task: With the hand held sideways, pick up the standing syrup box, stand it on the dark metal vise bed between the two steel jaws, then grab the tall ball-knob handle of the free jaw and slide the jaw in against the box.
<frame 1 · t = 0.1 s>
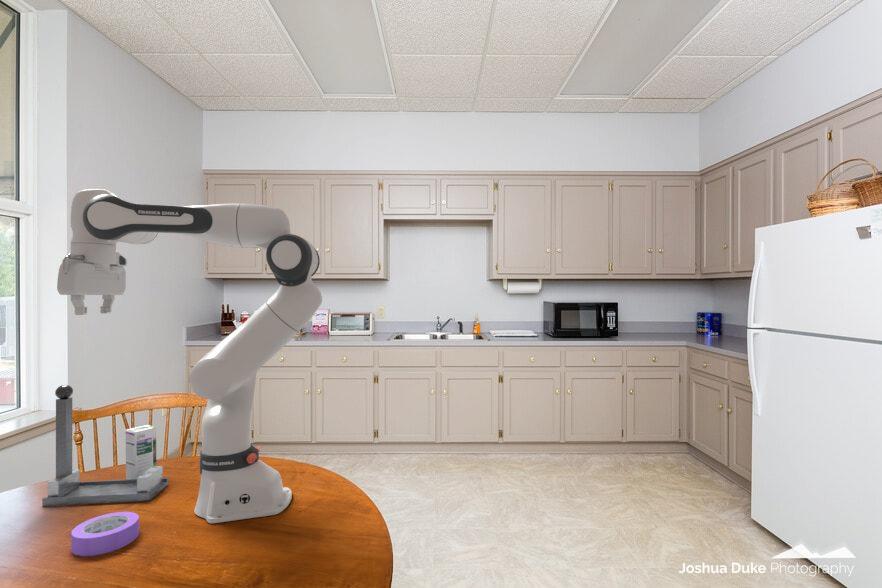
hand: (93, 314, 111), 48 cm above the table, tool pointing down, fingers open, 8 cm apart
masking tape: (106, 542, 98), on the table
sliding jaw: (64, 438, 119), point 15 cm above the table, slide at 0.0 cm
vise bed: (108, 495, 120), on the table
syrup box: (141, 478, 132), on the table
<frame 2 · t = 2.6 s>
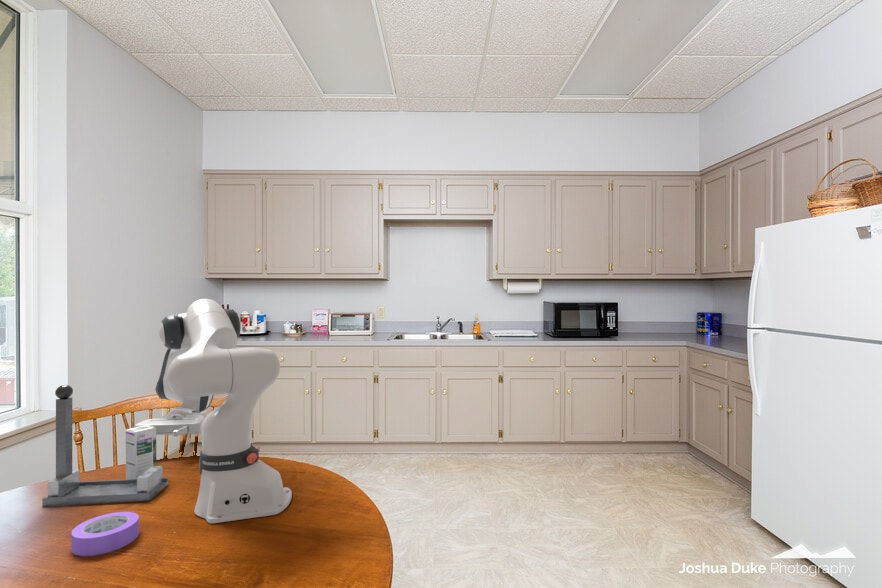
hand: (159, 434, 143), 9 cm above the table, tool horizontal, fingers open, 8 cm apart
nothing on the table moved.
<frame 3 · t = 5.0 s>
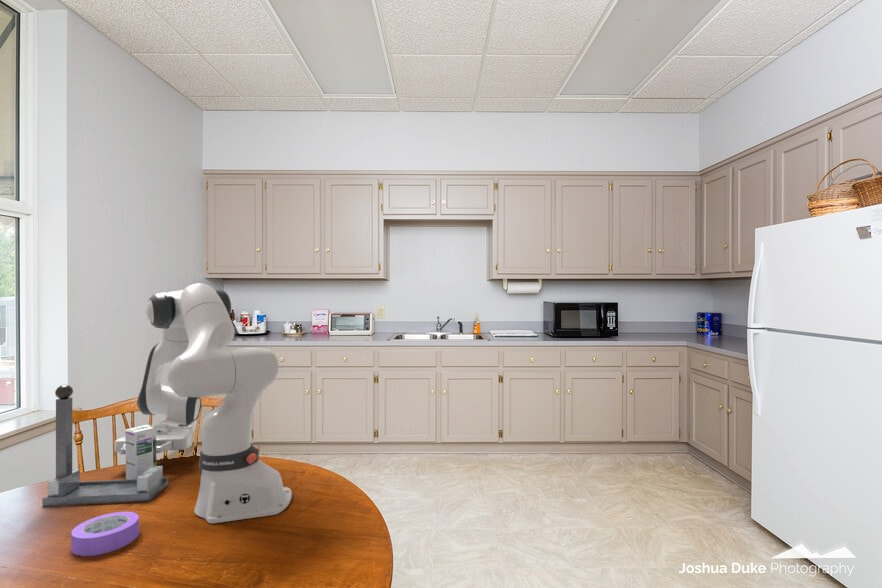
hand: (140, 450, 131), 8 cm above the table, tool horizontal, fingers open, 8 cm apart
syrup box: (141, 478, 132), on the table, touching gripper
everything else where it was.
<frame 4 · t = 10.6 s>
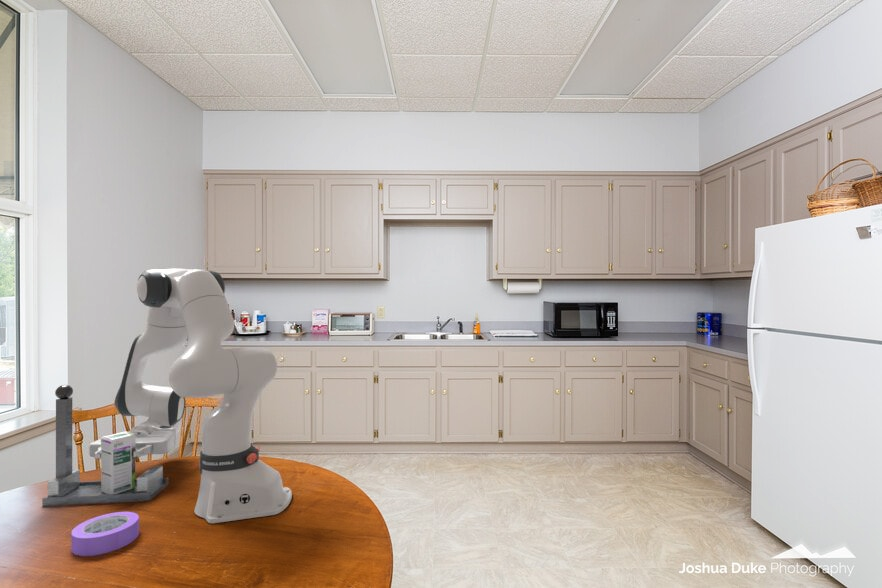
hand: (116, 455, 120), 11 cm above the table, tool horizontal, fingers open, 8 cm apart
syrup box: (118, 490, 121), point 1 cm above the table, touching gripper, vise bed
everything else where it was.
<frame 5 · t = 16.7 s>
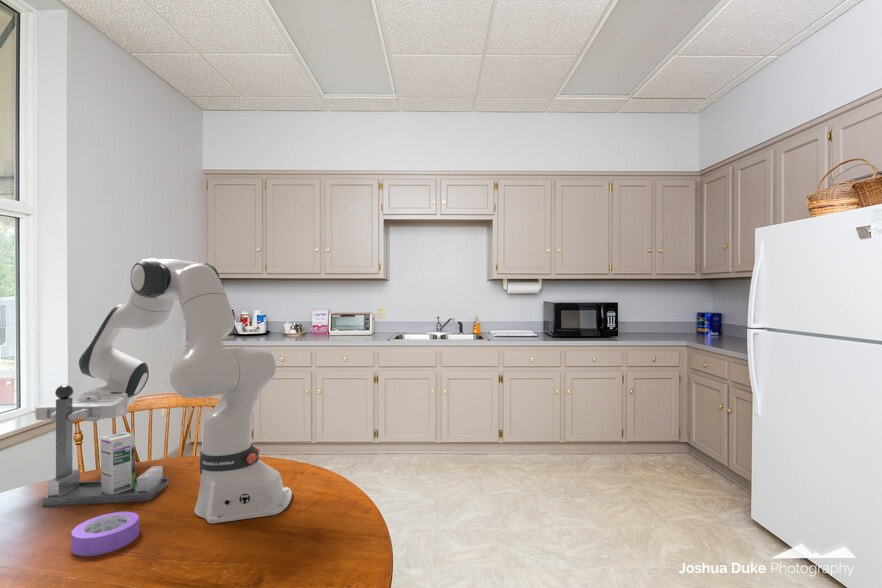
hand: (61, 417, 118), 21 cm above the table, tool horizontal, fingers closed on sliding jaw, 2 cm apart
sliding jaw: (64, 438, 119), point 15 cm above the table, slide at 0.0 cm, touching gripper
syrup box: (118, 490, 121), point 1 cm above the table, touching vise bed
everything else where it was.
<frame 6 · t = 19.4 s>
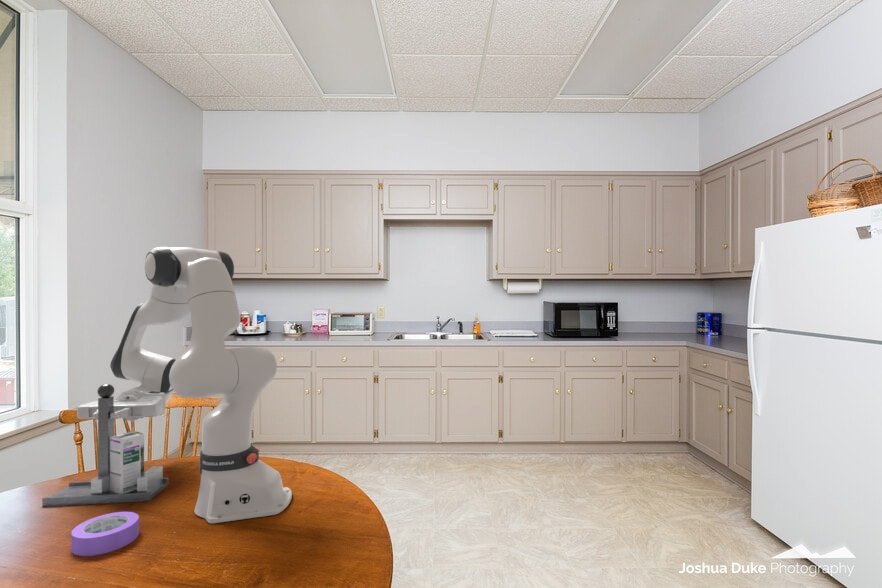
hand: (104, 416, 119), 21 cm above the table, tool horizontal, fingers open, 3 cm apart
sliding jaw: (105, 437, 120), point 15 cm above the table, slide at 10.1 cm, touching gripper, syrup box
syrup box: (126, 490, 121), point 1 cm above the table, touching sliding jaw, vise bed
everything else where it was.
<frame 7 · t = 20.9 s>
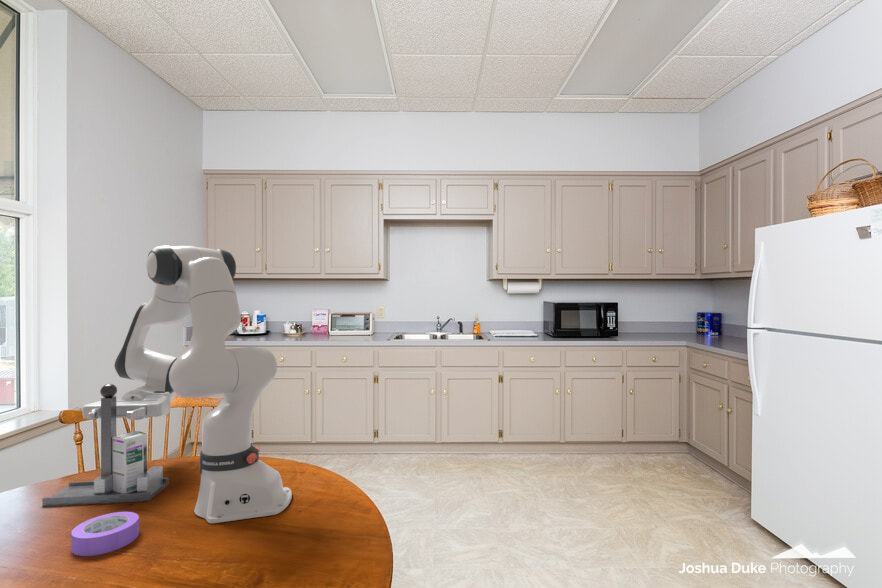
hand: (110, 416, 120), 21 cm above the table, tool horizontal, fingers open, 8 cm apart
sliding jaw: (108, 437, 120), point 15 cm above the table, slide at 10.8 cm, touching syrup box
everything else where it was.
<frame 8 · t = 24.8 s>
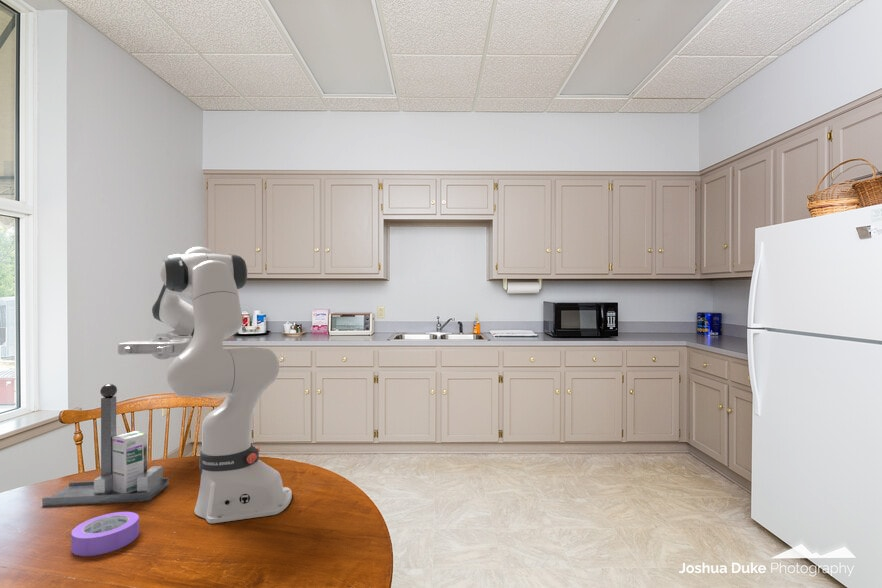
hand: (143, 350, 137), 36 cm above the table, tool horizontal, fingers open, 8 cm apart
nothing on the table moved.
at the end: syrup box inside the target area (0.5 cm from its centre), point 1.0 cm above the table; syrup box tilted 1°; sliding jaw slide at 10.8 cm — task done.
